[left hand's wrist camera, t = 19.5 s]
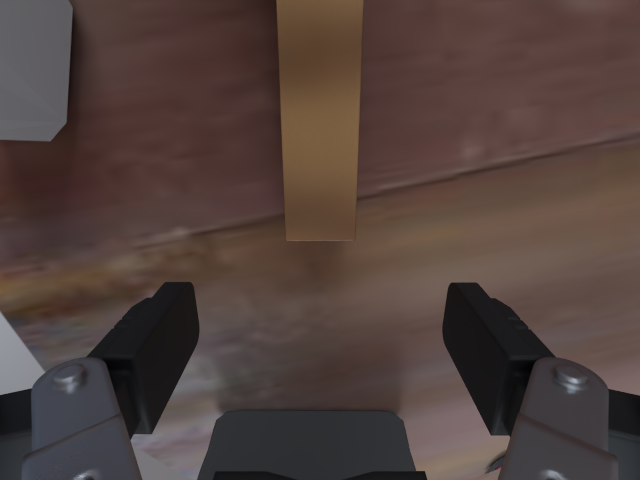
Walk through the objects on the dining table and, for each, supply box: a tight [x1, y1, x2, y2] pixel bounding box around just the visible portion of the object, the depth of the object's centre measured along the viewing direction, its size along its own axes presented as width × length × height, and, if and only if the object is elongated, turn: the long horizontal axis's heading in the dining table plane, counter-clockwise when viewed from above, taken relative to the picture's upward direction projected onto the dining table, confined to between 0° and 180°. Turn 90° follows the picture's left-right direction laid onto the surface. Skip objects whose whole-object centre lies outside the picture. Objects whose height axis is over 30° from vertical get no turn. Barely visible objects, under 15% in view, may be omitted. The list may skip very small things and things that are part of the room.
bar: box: [276, 0, 364, 241], centre depth 28 cm, size 26×6×8 cm, turn 0°
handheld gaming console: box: [197, 411, 416, 480], centre depth 41 cm, size 23×3×10 cm, turn 90°
